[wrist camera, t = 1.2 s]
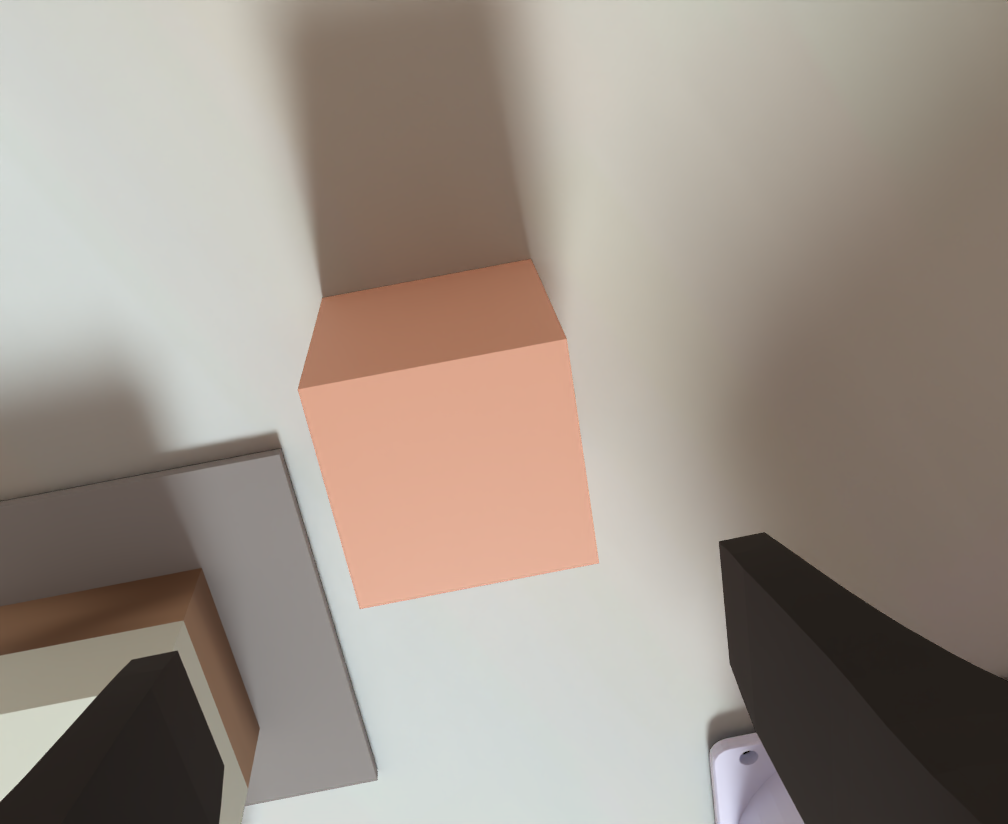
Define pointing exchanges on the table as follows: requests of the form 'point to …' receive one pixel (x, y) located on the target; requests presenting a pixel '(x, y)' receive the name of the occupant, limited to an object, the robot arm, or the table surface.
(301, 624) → the coaster
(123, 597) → the tower base
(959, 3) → the table surface
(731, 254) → the table surface
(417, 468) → the block
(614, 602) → the table surface
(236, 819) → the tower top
